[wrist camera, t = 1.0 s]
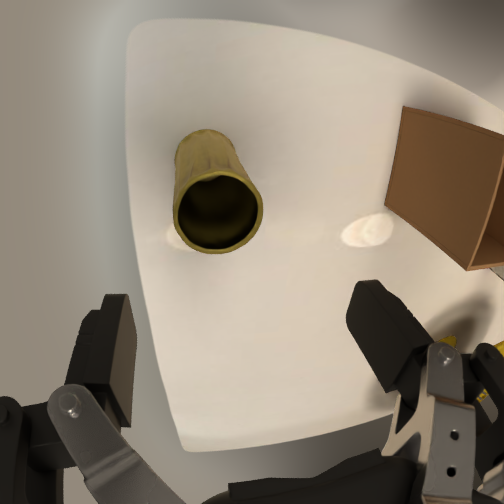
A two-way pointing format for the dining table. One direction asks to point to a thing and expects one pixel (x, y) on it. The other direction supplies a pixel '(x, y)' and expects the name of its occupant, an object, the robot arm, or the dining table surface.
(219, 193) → the vase
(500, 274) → the candy bar box
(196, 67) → the dining table surface
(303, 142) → the dining table surface
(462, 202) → the carton
